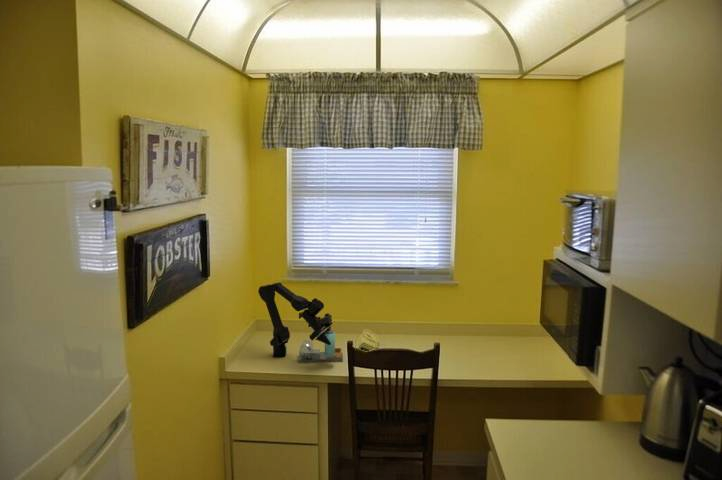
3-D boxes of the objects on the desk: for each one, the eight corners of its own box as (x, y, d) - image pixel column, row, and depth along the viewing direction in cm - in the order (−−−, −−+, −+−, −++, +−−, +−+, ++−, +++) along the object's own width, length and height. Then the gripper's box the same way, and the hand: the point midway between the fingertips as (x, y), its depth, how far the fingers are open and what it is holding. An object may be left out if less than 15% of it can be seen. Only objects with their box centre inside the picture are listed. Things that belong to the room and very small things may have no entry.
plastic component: (377, 348, 282) (361, 340, 281) (371, 359, 283) (355, 351, 283) (378, 334, 301) (363, 327, 301) (373, 345, 303) (357, 337, 302)
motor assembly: (298, 362, 267) (298, 346, 266) (299, 355, 278) (299, 339, 277) (342, 361, 268) (342, 346, 267) (342, 354, 279) (342, 339, 278)
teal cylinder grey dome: (324, 356, 259) (324, 333, 257) (324, 353, 264) (324, 329, 262) (334, 356, 259) (334, 332, 257) (334, 353, 264) (334, 329, 262)
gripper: (315, 314, 251) (336, 338, 249) (329, 305, 268) (348, 327, 267) (300, 328, 254) (321, 352, 252) (315, 318, 272) (334, 340, 270)
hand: (332, 342), depth 260 cm, fingers closed on teal cylinder grey dome, 5 cm apart
